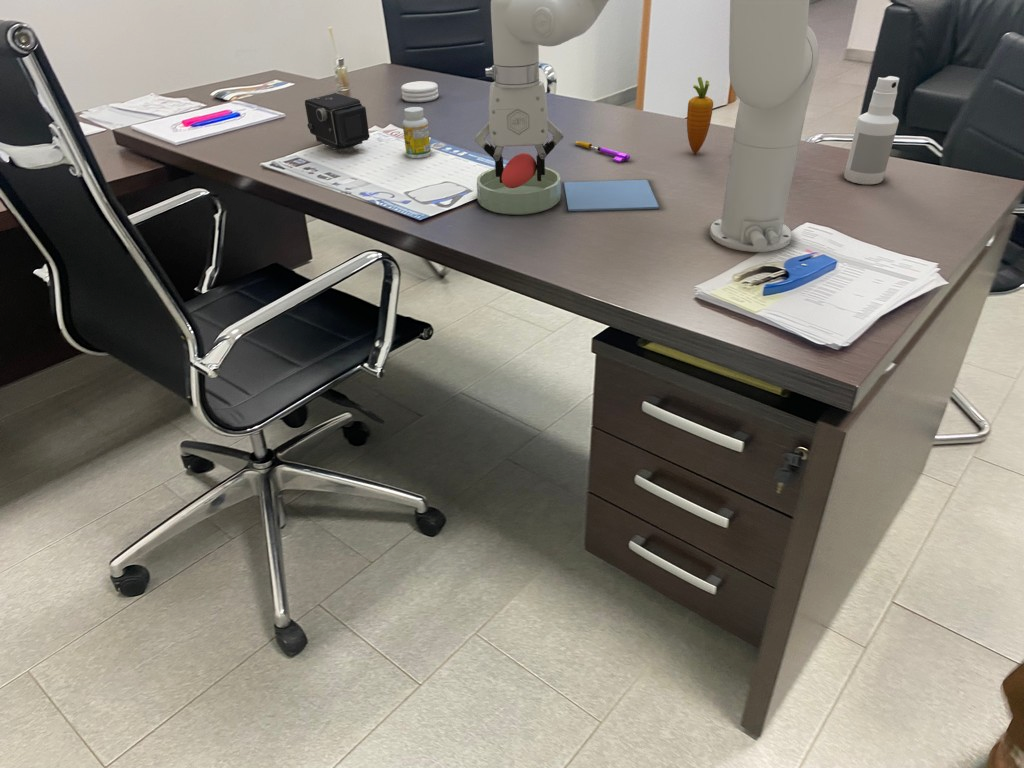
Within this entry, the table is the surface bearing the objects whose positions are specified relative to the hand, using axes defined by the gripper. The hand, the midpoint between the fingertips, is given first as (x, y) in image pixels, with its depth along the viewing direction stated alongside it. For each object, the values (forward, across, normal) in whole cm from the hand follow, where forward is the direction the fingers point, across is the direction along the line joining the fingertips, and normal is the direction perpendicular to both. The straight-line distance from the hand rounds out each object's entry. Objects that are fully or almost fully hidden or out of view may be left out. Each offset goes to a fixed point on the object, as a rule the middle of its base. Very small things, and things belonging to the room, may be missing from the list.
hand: (520, 178), depth 130 cm
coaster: (+3, -27, +79) cm, 83 cm away
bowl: (+4, 0, 0) cm, 4 cm away
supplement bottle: (+4, -22, +29) cm, 36 cm away
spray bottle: (+5, +65, +6) cm, 65 cm away
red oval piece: (+1, 0, 0) cm, 1 cm away
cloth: (+4, +16, +1) cm, 17 cm away
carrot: (+4, +37, +24) cm, 44 cm away
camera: (+3, -40, +35) cm, 53 cm away
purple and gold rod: (+4, +17, +26) cm, 31 cm away
